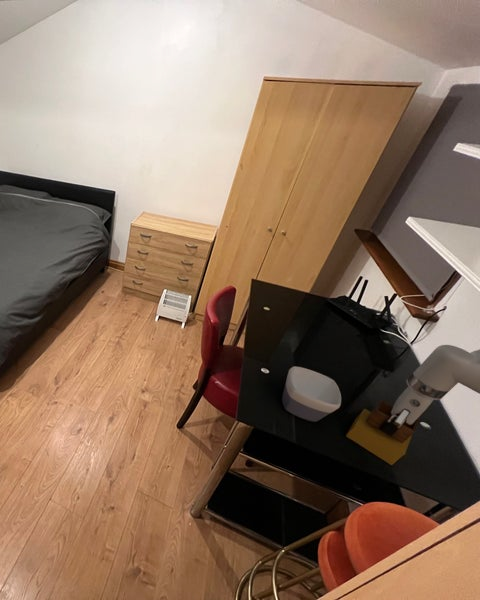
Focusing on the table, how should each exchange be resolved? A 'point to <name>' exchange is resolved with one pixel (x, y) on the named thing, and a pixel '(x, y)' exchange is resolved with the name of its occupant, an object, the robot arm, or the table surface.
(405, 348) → the table surface
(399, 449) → the box
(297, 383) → the bowl
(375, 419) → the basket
